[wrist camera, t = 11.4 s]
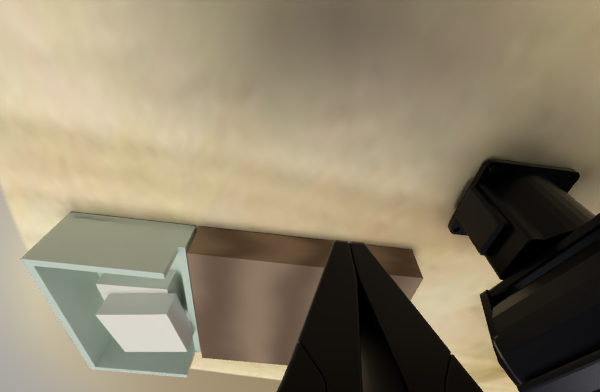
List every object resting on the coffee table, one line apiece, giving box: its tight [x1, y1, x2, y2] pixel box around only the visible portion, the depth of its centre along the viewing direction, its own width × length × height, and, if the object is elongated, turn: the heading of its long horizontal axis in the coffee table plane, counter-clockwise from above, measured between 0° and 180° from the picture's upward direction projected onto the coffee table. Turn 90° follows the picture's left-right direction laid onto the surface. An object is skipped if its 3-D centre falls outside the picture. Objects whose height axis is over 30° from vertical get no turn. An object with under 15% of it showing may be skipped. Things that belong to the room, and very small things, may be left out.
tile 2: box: [96, 293, 194, 352], centre depth 26 cm, size 6×6×2 cm
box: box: [21, 212, 201, 377], centre depth 26 cm, size 10×16×5 cm, turn 173°
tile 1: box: [96, 271, 185, 311], centre depth 27 cm, size 6×6×2 cm
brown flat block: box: [187, 226, 423, 365], centre depth 28 cm, size 18×16×3 cm
